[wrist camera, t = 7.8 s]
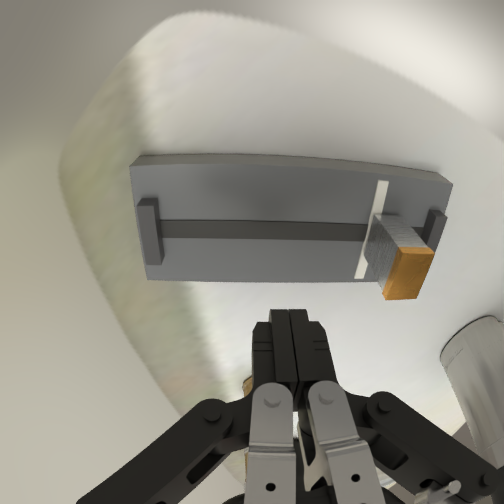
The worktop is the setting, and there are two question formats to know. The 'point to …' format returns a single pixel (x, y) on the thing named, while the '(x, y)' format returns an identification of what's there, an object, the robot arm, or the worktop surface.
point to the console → (274, 215)
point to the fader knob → (397, 257)
